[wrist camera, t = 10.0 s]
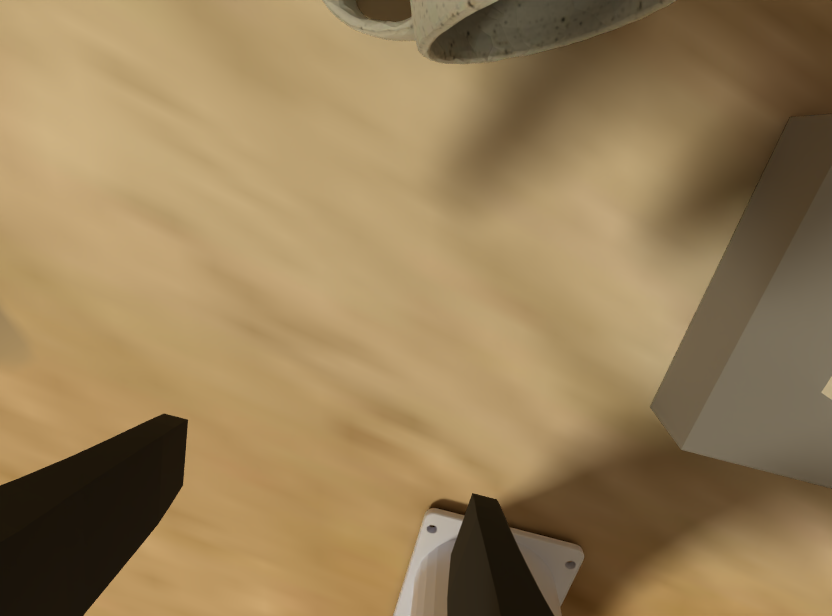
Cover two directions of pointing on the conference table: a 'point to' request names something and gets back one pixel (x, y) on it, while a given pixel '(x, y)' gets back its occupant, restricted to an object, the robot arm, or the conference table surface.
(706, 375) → the gray plinth
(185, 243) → the conference table surface
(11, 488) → the robot arm
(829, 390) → the cream block
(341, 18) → the ceramic mug
